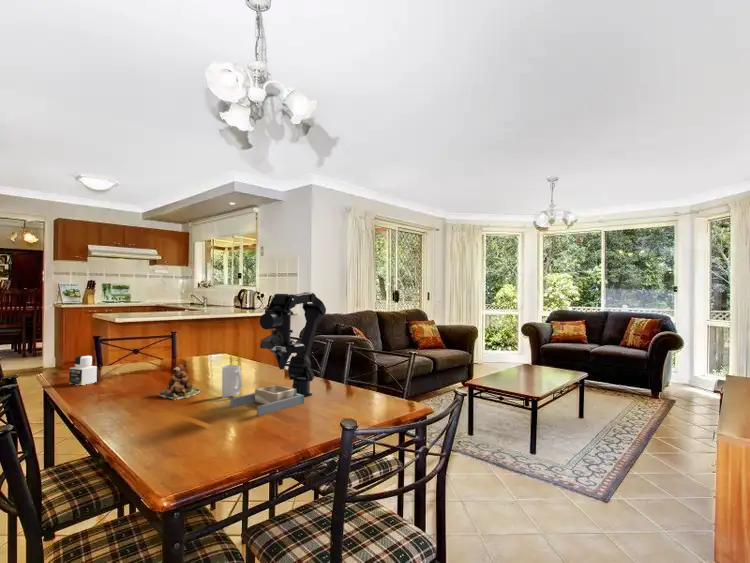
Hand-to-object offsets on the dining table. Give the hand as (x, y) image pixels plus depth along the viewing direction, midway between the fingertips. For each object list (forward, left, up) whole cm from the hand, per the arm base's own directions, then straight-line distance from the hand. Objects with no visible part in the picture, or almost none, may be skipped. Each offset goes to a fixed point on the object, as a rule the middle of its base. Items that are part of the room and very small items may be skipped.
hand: (281, 369), depth 154 cm
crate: (+2, 0, -12) cm, 12 cm away
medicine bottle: (+34, -89, -13) cm, 96 cm away
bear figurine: (+17, -41, -14) cm, 46 cm away
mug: (+6, -21, -13) cm, 26 cm away
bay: (+6, 0, -13) cm, 14 cm away
